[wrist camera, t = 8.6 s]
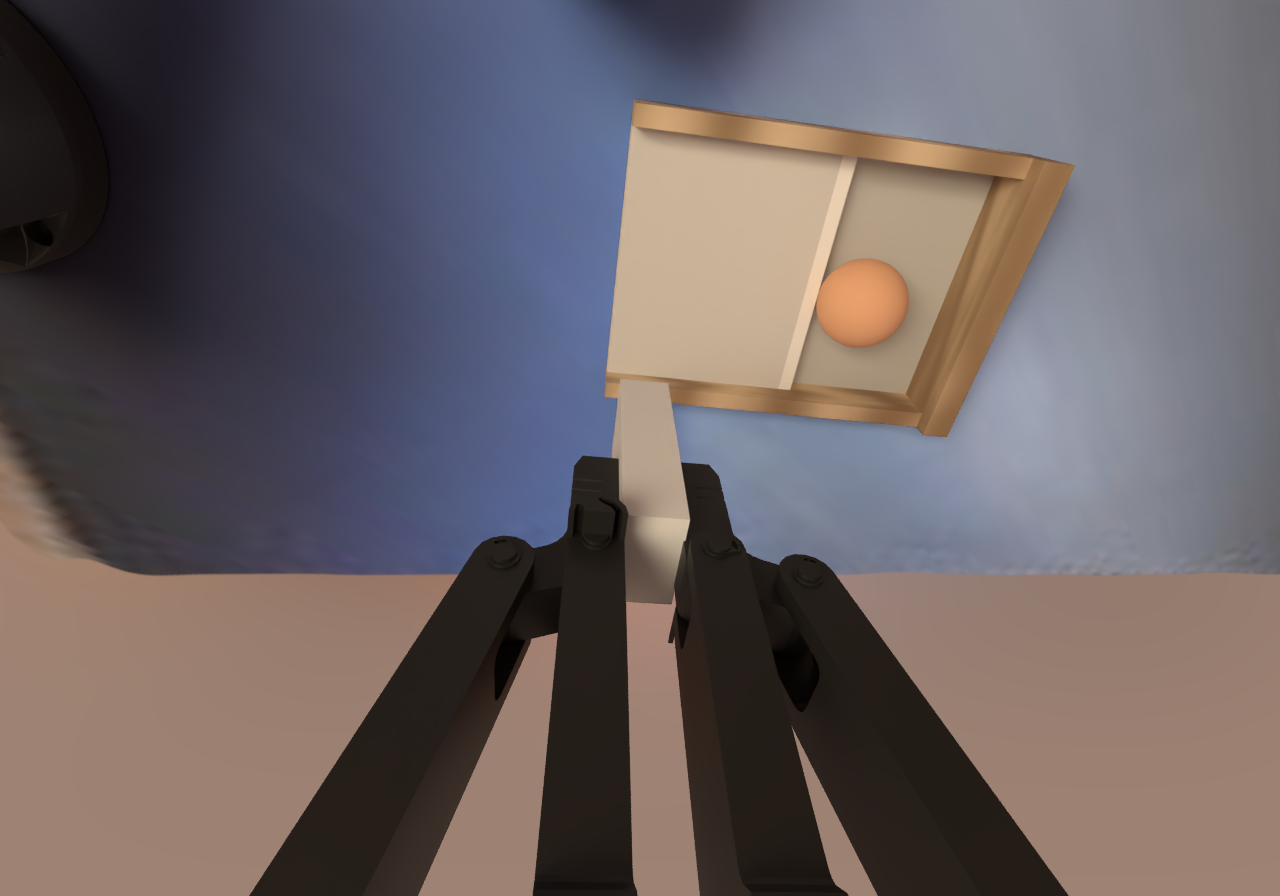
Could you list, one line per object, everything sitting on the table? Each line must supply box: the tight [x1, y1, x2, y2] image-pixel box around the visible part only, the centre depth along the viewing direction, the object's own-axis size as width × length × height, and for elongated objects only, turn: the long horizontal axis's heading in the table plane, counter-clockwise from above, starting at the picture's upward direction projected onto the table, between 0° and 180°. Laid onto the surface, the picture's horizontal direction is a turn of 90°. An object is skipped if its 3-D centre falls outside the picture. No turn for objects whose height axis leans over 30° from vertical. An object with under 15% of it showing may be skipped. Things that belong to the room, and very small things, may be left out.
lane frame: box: [605, 99, 1075, 437], centre depth 35 cm, size 22×16×4 cm
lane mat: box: [607, 121, 995, 394], centre depth 36 cm, size 20×14×2 cm
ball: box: [816, 258, 909, 348], centre depth 35 cm, size 5×5×5 cm
